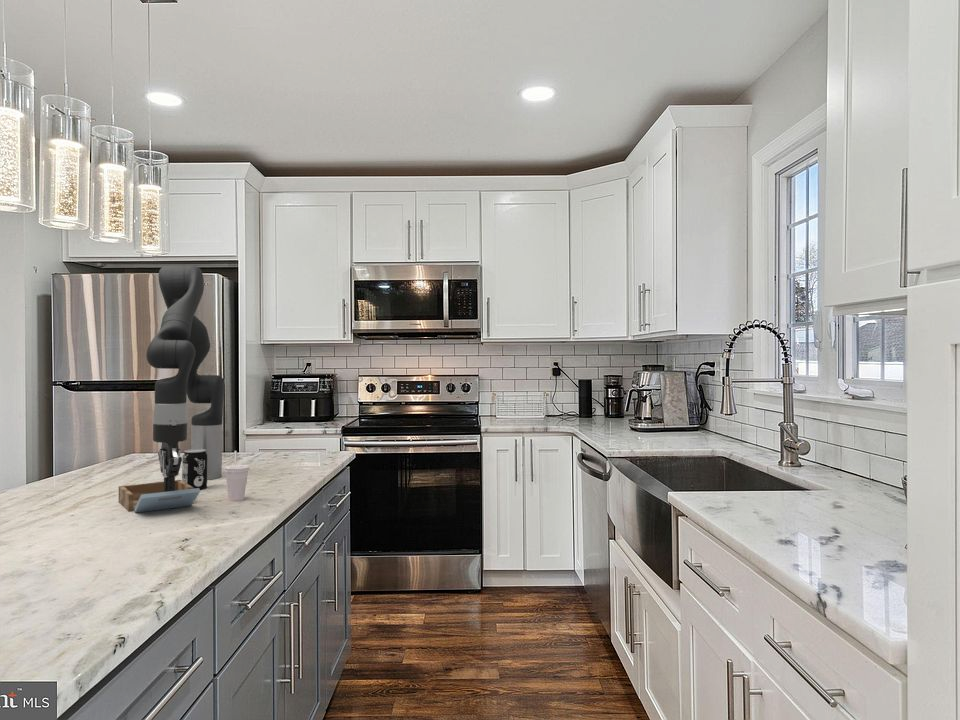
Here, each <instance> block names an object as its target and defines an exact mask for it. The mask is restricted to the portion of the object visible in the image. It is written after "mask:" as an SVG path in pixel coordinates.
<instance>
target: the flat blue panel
mask: <svg viewBox="0 0 960 720" xmlns="http://www.w3.org/2000/svg"><path fill="white" fill-rule="evenodd" d="M200 492H201V490H200V489H199V488H195V489H186V490H177V491H168V492H159V493H151V494H142V495H141V496H140V498H139V500H138V502H137V505H136V507H135V509H134V511H133V512H134V513H135V514H136V513H143V512H150V511H158V510H165V509H166V510H167V509H174V508H182V507H189V506H193V502H195V501H196V499H197V497H198V496H199V494H200Z"/></svg>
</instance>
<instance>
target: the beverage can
mask: <svg viewBox="0 0 960 720" xmlns="http://www.w3.org/2000/svg"><path fill="white" fill-rule="evenodd" d="M183 452H184V453H183V455H182V462H181V465H182V468H181V469H182V471H181V475H182V476H181V477H182V478H181V481H183V482H185V483H187V484H188V485H190V486H192V487H194V489H195V488H199V489H200V491H202V490H206V489H208V479H207V453H206V450H205V449H191V448H190V449H185V450H184V451H183Z"/></svg>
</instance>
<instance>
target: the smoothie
mask: <svg viewBox="0 0 960 720" xmlns="http://www.w3.org/2000/svg"><path fill="white" fill-rule="evenodd" d="M237 455H238V453H237V450H234V455H233V457H234V459H233V464H231V465H227V466H224V469H223V471H224V472H225V480H226V489H227V490H226V491H227V496H228V498H227V499H228V501H230V502H237V501H238V502H239V501H240V502H241V501H243V500H245V494H246V490H247V489H246V488H247V481H248V475H249V474H248V473H249V471H250V465H248V464H237Z"/></svg>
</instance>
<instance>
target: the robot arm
mask: <svg viewBox="0 0 960 720" xmlns="http://www.w3.org/2000/svg"><path fill="white" fill-rule="evenodd" d="M158 284H159V288H160V292H161V294H162V298H163V301H164V304H165V306H166V309H167V310H166V311H165V312H164V314H163V316H162V319H161V324H160V329H159V330H158V332H157V333H156V334H155V336H154V337H153V338H152V340H151V341H150V342H149V344H148V346H147V350H146V355H145V356H146V360H147V363H148V364H149V365H150V366H151V367H152V368H154V369H159V370H160V369H162V370H163V369H169V370H171V369H173V370H175V369H178V371H177V373H176V374H175V375H174V376H170V377H165V378H161V379H158V380H156V381H155V383H154V406H153V410H152V411H153V412H152V413H153V415H152V440H153V442H155V443H159V444H161V447H160V448H159V449H158V452H157V453H158V454H157V455H158V461H159V467H160V468H159V469H160V473H161V474H162V477H163V482H164V492H168V491H175V480H176V477H178V476H179V474H180V469H181V465H182V459H183V456H181V448H179V442H185V441H187V439H188V405H187V398H188V400H189V402H190V403H193V404H210V407H209V409H207V410H206V411H204V412H201V413H198V414H194V415H193V416H192V417H191V427H190V428H191V429H190V432H191V433H190V434H191V443H190V444H191V445H190V447H191V448H190V449H205V450H206V453H207V480H214V479H219V478H221V477H222V473H223V471H222V470H223V467H222V466H223V465H222V464H223V419H224V418H223V415H224V396H225V395H224V394H225V380H224V378H223V376H222V375H220V374H219V375H217V374H215V375H214V374H198V370H199V367H200V366H201V364H202V363H203V361H204V360H205V359H206V357H207V356H208V354H209V352H210V349H211V341H210V337H209V333H208V329H207V327H206V325H205V324H204V323H203V322H202V320H201V319H199V317H197V316H195V314H196V312H197V309H198V307H199V305H200V302H201V300H202V297H203V295H204V292H205V291H204V290H205V289H204V288H205V280H204V274H203V271H202V270H201V268H200V267H199V266H197V265H167V266H163V267H161V268H160V269H159V272H158Z"/></svg>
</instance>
